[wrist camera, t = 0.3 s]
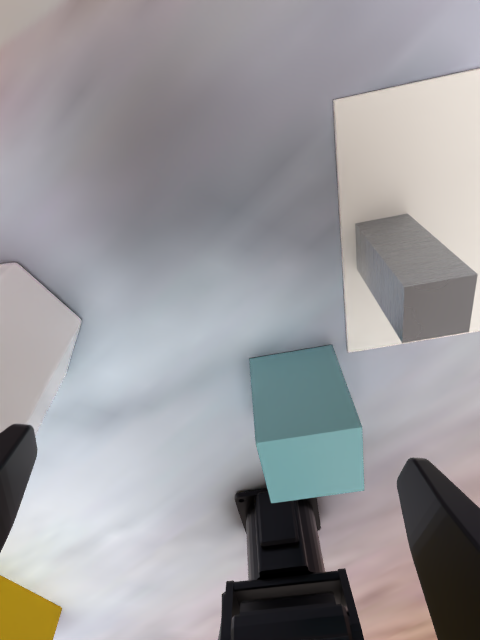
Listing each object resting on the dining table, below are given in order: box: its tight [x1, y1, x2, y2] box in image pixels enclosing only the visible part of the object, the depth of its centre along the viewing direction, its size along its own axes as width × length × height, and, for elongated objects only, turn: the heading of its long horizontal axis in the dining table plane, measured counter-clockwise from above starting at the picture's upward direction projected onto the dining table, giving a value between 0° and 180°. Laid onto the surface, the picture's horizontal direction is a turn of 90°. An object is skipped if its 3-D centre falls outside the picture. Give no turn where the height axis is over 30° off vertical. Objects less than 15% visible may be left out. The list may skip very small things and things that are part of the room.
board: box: [333, 68, 480, 353], centre depth 21 cm, size 14×13×1 cm
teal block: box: [249, 345, 364, 503], centre depth 24 cm, size 5×5×7 cm
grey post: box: [355, 213, 478, 343], centre depth 18 cm, size 3×3×7 cm
